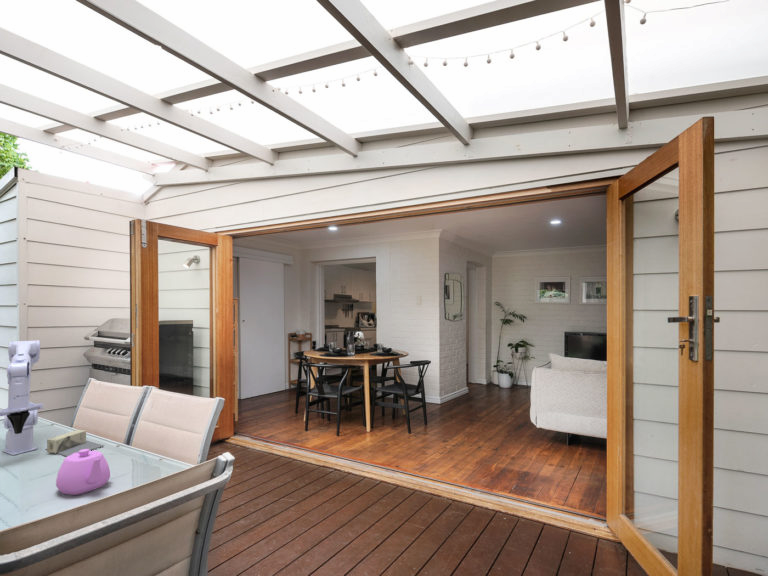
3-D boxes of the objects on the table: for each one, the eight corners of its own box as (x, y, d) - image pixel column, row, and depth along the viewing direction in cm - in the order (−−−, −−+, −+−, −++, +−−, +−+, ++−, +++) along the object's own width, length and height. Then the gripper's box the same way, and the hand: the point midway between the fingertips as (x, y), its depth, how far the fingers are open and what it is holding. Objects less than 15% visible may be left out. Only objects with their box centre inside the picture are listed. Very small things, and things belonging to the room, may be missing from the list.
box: (55, 440, 161) (86, 429, 173) (46, 439, 162) (78, 428, 174) (55, 454, 161) (86, 442, 173) (46, 453, 162) (78, 441, 174)
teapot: (46, 489, 131) (46, 451, 132) (94, 474, 142) (95, 439, 143) (73, 506, 120) (74, 464, 120) (124, 488, 131) (124, 450, 131)
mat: (45, 450, 166) (45, 448, 166) (82, 440, 178) (82, 439, 178) (67, 457, 158) (67, 456, 158) (104, 446, 169) (104, 445, 169)
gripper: (-2, 400, 146) (-3, 440, 146) (47, 392, 159) (46, 429, 159) (-11, 398, 150) (-12, 437, 149) (38, 391, 163) (37, 427, 162)
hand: (18, 433), depth 154 cm, fingers closed
